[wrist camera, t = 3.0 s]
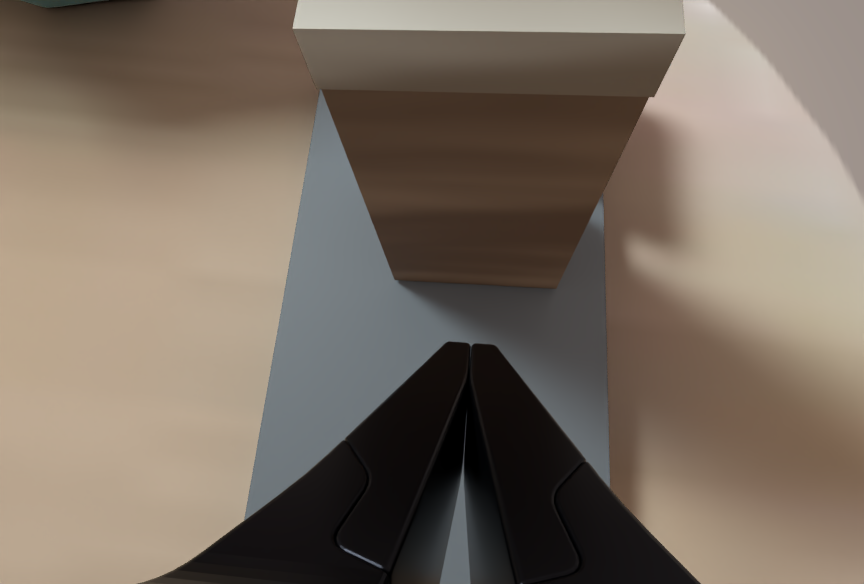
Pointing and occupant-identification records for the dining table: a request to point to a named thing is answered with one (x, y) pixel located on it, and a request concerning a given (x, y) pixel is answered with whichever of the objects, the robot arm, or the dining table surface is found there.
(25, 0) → the flower pot
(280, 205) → the dining table surface
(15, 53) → the dining table surface
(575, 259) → the slate board
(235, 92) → the dining table surface
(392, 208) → the block
